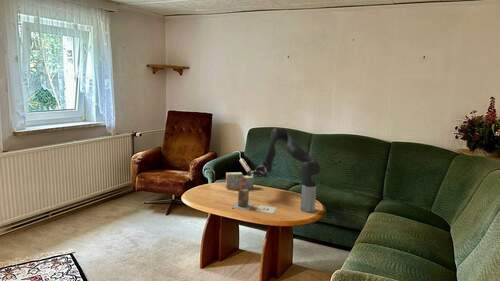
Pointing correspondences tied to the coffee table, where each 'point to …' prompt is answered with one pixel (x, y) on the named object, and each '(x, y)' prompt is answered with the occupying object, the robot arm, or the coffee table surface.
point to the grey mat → (243, 207)
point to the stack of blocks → (239, 181)
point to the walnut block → (243, 197)
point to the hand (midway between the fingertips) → (254, 175)
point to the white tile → (266, 209)
